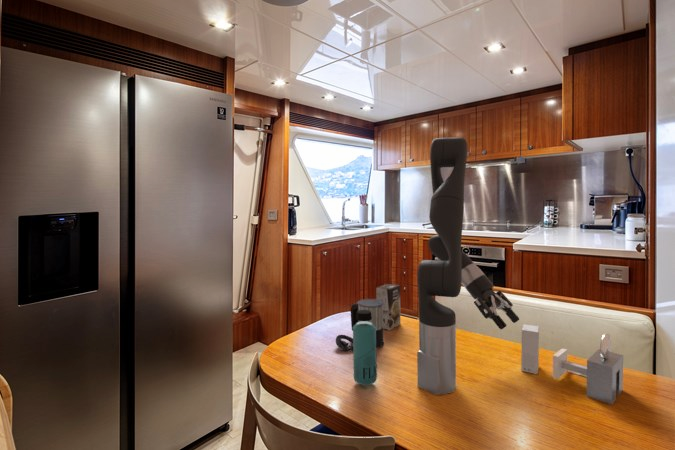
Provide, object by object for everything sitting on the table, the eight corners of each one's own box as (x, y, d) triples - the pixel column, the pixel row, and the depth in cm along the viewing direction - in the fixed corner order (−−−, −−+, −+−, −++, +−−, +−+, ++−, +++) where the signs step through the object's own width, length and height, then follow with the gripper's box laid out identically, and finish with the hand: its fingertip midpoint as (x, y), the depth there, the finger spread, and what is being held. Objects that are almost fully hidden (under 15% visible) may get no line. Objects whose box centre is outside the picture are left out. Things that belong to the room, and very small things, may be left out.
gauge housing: (611, 404, 81) (613, 342, 80) (542, 380, 92) (542, 325, 92) (625, 385, 89) (626, 328, 88) (560, 365, 101) (560, 315, 100)
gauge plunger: (604, 396, 83) (604, 370, 83) (552, 379, 92) (552, 355, 91) (616, 380, 90) (617, 356, 90) (567, 366, 99) (567, 344, 99)
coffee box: (390, 330, 132) (390, 289, 131) (376, 327, 136) (375, 287, 135) (401, 324, 139) (400, 284, 139) (387, 321, 143) (386, 283, 143)
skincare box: (538, 374, 96) (538, 332, 95) (521, 371, 98) (521, 329, 97) (539, 366, 101) (539, 326, 100) (522, 362, 103) (522, 323, 102)
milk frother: (388, 342, 121) (388, 300, 120) (368, 359, 108) (367, 312, 107) (353, 334, 129) (353, 295, 128) (330, 349, 116) (329, 306, 115)
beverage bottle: (361, 393, 88) (360, 316, 87) (348, 382, 94) (347, 309, 93) (382, 386, 91) (381, 312, 90) (368, 376, 97) (367, 306, 96)
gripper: (470, 277, 105) (508, 323, 96) (493, 271, 114) (530, 312, 106) (455, 291, 109) (490, 336, 101) (478, 284, 118) (512, 325, 110)
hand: (510, 324), depth 103 cm, fingers open, 8 cm apart
